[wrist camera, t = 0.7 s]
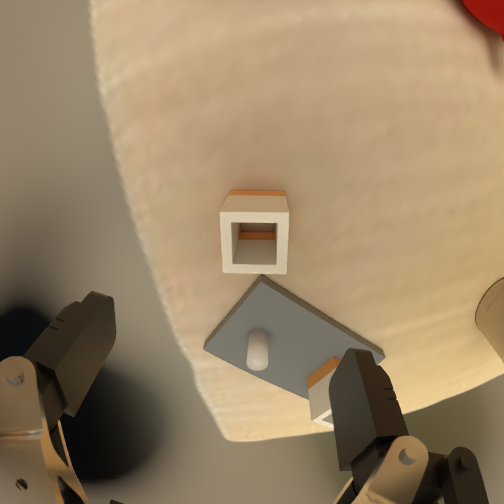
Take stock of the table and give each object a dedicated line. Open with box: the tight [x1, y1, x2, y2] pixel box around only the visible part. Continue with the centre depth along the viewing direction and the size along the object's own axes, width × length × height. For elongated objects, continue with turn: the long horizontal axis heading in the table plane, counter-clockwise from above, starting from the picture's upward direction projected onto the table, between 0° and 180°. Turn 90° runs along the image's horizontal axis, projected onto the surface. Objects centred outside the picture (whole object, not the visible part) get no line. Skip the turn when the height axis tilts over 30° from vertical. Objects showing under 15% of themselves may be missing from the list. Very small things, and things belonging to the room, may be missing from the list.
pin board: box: [203, 274, 386, 429], centre depth 32 cm, size 20×12×8 cm, turn 55°
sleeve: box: [220, 190, 289, 274], centre depth 25 cm, size 5×5×7 cm
